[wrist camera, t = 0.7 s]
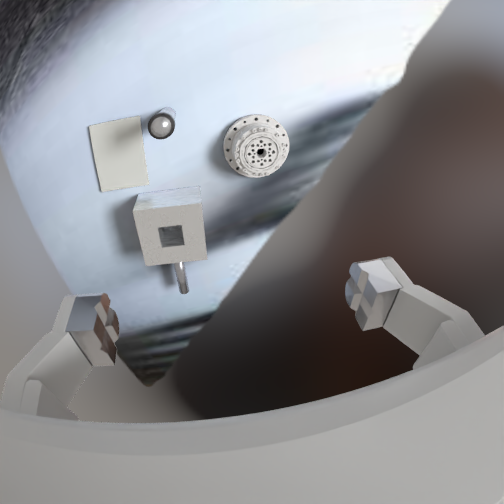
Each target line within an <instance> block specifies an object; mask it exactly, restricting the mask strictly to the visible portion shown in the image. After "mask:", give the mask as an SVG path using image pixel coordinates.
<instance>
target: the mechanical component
mask: <svg viewBox="0 0 504 504" xmlns="http://www.w3.org/2000/svg"><path fill="white" fill-rule="evenodd" d="M256 117H257V119H255V118H256ZM244 121H245V122H244ZM276 125H277V126H276ZM235 127H236V129H235V130H234V128H235ZM223 149H224V155H225V158H226V160H227V162H228V163H229V165H230V166H231V168H232V169H234V170H235V171H236V172H237V173H239V174H241V175H244V176H247V177H257V178H258V177H263V176H267V175H269V174H271V173H273V172H275V171H276V170H277V169H279V168H280V166H281V165H282V164H283V163H284V161H285V159H286V157H287V155H288V152H289V138H288V135H287V133H286V130H285V129H284V128H283V127H282V125H281V124H280V123H278V122H277V121H276V120H275V119H273V118H271V117H269V116H265V115H261V114H258V115H249V116H245V117H242V118H241V119H239V120H237V121H236V122H235V123H234V124H233V125H232V126H231V127H230V128H229V130H228V131H227V133H226V135H225V138H224V142H223ZM226 149H228V150H226ZM261 149H264V153H263V154H262V155H258V154H257V153H256V152H257V151H258V152H260V151H261ZM244 156H245V157H244ZM236 167H237V168H236Z"/></svg>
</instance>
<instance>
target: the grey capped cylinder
mask: <svg viewBox="0 0 504 504" xmlns="http://www.w3.org/2000/svg"><path fill="white" fill-rule="evenodd" d="M175 116H176V113H175V111H174V109H172V108H170V107H165V108H163V109H162V110H161V111H160V112H159V113H157V114H155V115H154V116H153V117H152V118H151V119H150V121H149V123H148V131H149V133H150V135H151V136H152V137H154V138H156V139H165V138H167V137H169V136H170V135H171V134H172V133H173V131H174V128H175V120H174V119H175Z"/></svg>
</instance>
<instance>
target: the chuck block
mask: <svg viewBox="0 0 504 504" xmlns="http://www.w3.org/2000/svg"><path fill="white" fill-rule="evenodd" d="M133 215H134V220H135V224H136V228H137V232H138V236H139V241H140V244H141V248H142V252H143V256H144V260H145V263H146V266H151V265H161V264H170V263H174V268H175V272H176V277H177V282H178V286H179V291H180V293H181V294H186V293H188V292H189V287H188V281H187V276H186V271H185V265H184V262H188V261H197V260H207V251H206V241H205V231H204V221H203V211H202V200H201V189H200V186H196V187H187V188H178V189H170V190H161V191H154V192H146V193H139V195H138V197H137V200H136V203H135V206H134V209H133Z"/></svg>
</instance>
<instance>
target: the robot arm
mask: <svg viewBox="0 0 504 504" xmlns="http://www.w3.org/2000/svg"><path fill="white" fill-rule="evenodd" d="M350 274H351V276H352V277H351V278H350V279H349V280H348V281H347V283H346V288H345V295H346V300H347V303H348V304H349V306H350V308H352V309H354V310H355V311H356V316H355V317H356V319H357V321H358V323H359V325H360V326H361V328H362V330H363V331H364V330H368V329H373V328H377V327H382V326H383V328H385V329H386V330H387V331H389V332H390V333H391V334H393V335H394V336H395V337H397V338H398V339H399V340H400V341H402V342H403V343H404V344H406V345H407V346H408V347H410V348H411V349H412V350H413V351H415V352H416V353H417V354H419V355H420V357H419V358H418V360H417V361H416V362H415V364H414V366H413V369H414V370H412V371H409V372H406V373H404V374H401V375H399V376H396V377H393V378H390V379H388V380H385V381H382V382H379V383H376V384H373V385H370V386H367V387H364V388H361V389H357V390H354V391H351V392H347V393H344V394H340V395H337V396H333V397H330V398H326V399H322V400H318V401H314V402H310V403H305V404H301V405H297V406H292V407H288V408H282V409H277V410H272V411H267V412H261V413H255V414H249V415H242V416H235V417H227V418H219V419H210V420H200V421H188V422H187V421H186V422H170V423H102V422H87V421H79V418H78V417H77V416H76V415H75V414H74V413H73V412H72V411H71V410H70V409H69V408H67V406H68V405H69V403H70V402H71V400H72V399H73V397H74V396H75V394H76V392H77V391H78V389H79V388H80V386H81V385H82V383H83V382H84V380H85V379H86V377H87V376H88V374H89V373H90V371H91V370H92V368H93V367H92V366H112V365H115V361H116V353H117V348H116V346H115V344H114V343H115V341H116V340H117V339H118V338H119V321H118V317H117V315H116V312H115V311H114V310H113V309H112V308H110V307H109V306H110V299H109V297H108V295H107V294H106V293H92V294H78V295H66V296H65V297H64V298H63V300H62V303H61V306H60V309H59V312H58V314H57V318H56V320H55V323H54V326H53V329H52V332H48V333H47V334H46V335H45V336H44V337H43V338H42V339H41V340H40V341H39V342H38V343H37V344H36V345H35V347H33V348H32V349H31V351H29V353H28V354H27V355H26V356H25V357H24V358H23V359H22V360H21V361H20V362H19V363H18V364H17V365H16V366H15V368H14V369H13V370H12V371H11V372H10V373H9V374H8V375H7V378H6V382H5V385H4V389H3V393H2V397H1V401H0V504H504V326H502V327H500V328H498V329H497V330H495V331H493V332H491V333H490V334H488V335H486V336H485V335H484V334H483V332H482V331H481V329H480V328H479V327H478V325H477V324H476V323H475V321H474V320H473V318H472V317H471V316H470V315H469V313H468V312H467V311H465V310H463V309H461V308H460V307H458V306H456V305H454V304H452V303H451V302H449V301H447V300H445V299H443V298H441V297H440V296H437V295H436V294H434V293H432V292H430V291H428V290H426V289H424V288H423V287H421V286H418V285H415V286H414V285H413V283H412V282H411V280H410V279H409V278H408V277H407V275H406V274H405V273H404V272H403V270H402V269H401V268H400V267H399V265H398V264H397V263H396V262H395V261H394V259H393V258H391V257H385V258H380V259H375V260H369V261H362V262H356V263H353V264H352V266H351V268H350Z"/></svg>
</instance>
